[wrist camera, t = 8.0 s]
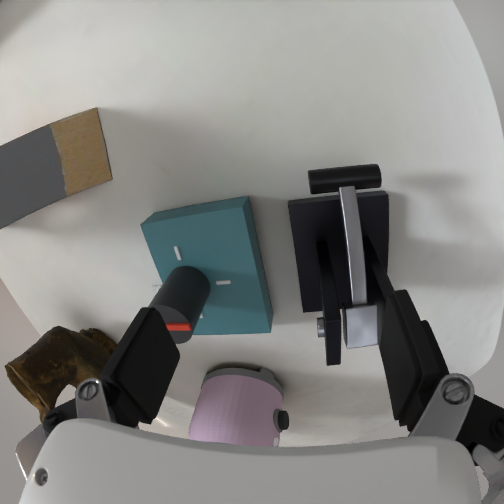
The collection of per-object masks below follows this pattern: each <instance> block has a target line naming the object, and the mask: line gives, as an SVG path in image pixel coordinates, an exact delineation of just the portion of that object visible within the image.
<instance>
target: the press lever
mask: <svg viewBox="0 0 504 504" xmlns="http://www.w3.org/2000/svg"><path fill="white" fill-rule="evenodd" d="M308 179H309V185H310V192H311V194H321V193H330V192H338V193H339V200H340V207H341V214H342V221H343V229H344V237H345V246H346V255H347V266H348V277H349V290H350V301H349V302H342V315H343V336H344V341H345V344H346V347H347V349H350V348H358V347H365V346H372V345H378V307H377V305H376V304H375V303H374V302H373V301H372V300H371V299H367V287H366V273H365V261H364V251H363V242H362V233H361V225H360V218H359V211H358V204H357V197H356V191H355V190H359V189H369V188H379V187H381V182H382V179H381V172H380V168H379V166H378V165H377V164H369V165H357V166H346V167H336V168H326V169H318V170H309V171H308Z"/></svg>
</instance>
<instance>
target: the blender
mask: <svg viewBox="0 0 504 504" xmlns="http://www.w3.org/2000/svg"><path fill="white" fill-rule="evenodd" d="M283 396H284V393H283V389H282V387H281V386H280V385H279V384H278V383H277V382H276V381H275V380H274V373H273V372H271V371H270V370H268V369H266V368H263V367H262V368H261V369H260V371H259V372H256V371H253V370H248V369H242V368H224V369H218V370H215V371H213V372H211V373H206V376H205V378H204V380H203V383H202V386H201V392H200V395H199V398H198V401H197V404H196V407H195V410H194V413H193V416H192V420H191V423H190V427H189V439H190V440H197V441H204V442H212V443H221V444H231V445H244V446H264V447H278V445H279V439H280V432H282V430H286V429H288V427H289V416H288V413H287V411H282V404H283Z"/></svg>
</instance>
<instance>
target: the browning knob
mask: <svg viewBox="0 0 504 504" xmlns="http://www.w3.org/2000/svg"><path fill="white" fill-rule="evenodd" d="M210 289H211V288H210V283H209V281H208V279H207V277H206V276H205V275H204V274H203V273H202V272H201V271H199V270H197V269H195V268H193V267H189V266H180V267H177V268H175V269H173V270H172V271H171V273H170V274H169V276H168V277H167V279H166V280H165V282H164V283H163V285H162V286H161V288H160V289H159V291H158V292H157V294H156V295H155V297H154V299H153V300H152V302H151V303H150V305H149V306H148V307H154V308H156V310H157V311H159V312H160V314H161V316H162V318H163V320H164V322H165V324H166V326H167V328H168V330H169V333H170V335H171V337H172V339H173V341H174V343H175V344H180V343H185V342H187V341H188V340H189V339H190V338H191V337H192V334H193V332H194V330H195V327H196V325H197V322H198V320H199V318H200V315H201V313H202V310H203V308H204V306H205V303H206V301H207V299H208V296H209V294H210Z"/></svg>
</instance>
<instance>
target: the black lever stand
mask: <svg viewBox="0 0 504 504" xmlns="http://www.w3.org/2000/svg"><path fill="white" fill-rule="evenodd" d="M356 197H357V204H358V211H359V218H360V225H361V233H362V242H363V251H364V261H365V273H366V287H367V299H371V300H372V301H373V302H374V303H375V304H376V305H377V307H378V345H379V349H380V340H381V334H382V328H383V321H384V314H385V307H386V299H387V296H388V295H391V293H392V291H394V288H393V286H392V284H391V282H390V280H389V277H388V275H387V267H388V243H389V198H388V194H387V193H386V192H385V191H374V192H363V193H356ZM288 208H289V214H290V221H291V227H292V234H293V240H294V247H295V254H296V261H297V269H298V276H299V284H300V291H301V299H302V307H303V313H305V312H316V311H323V317H320V318H317V328H318V337H325V347H326V363H327V366H329V365H339V364H341V314H340V309H342V302H349V301H350V290H349V277H348V266H347V255H346V246H345V237H344V229H343V221H342V214H341V207H340V200H339V195H334V196H325V197H316V198H308V199H300V200H292V201H288ZM380 353H381V352H380Z"/></svg>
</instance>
